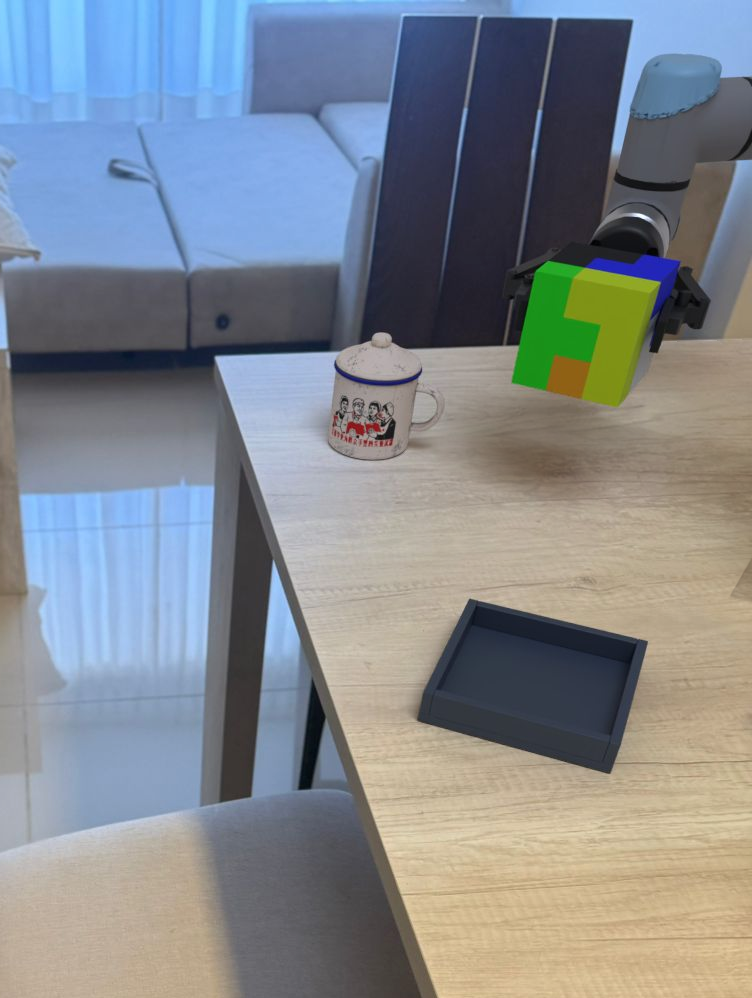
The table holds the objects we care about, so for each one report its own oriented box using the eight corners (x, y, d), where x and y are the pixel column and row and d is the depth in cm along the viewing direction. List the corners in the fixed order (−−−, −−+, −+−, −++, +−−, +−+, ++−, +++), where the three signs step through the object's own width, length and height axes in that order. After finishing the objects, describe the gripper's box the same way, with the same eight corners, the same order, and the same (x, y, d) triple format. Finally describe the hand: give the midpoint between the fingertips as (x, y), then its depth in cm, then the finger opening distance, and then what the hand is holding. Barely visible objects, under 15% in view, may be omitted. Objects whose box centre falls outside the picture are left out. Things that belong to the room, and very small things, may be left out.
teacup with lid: (315, 453, 124) (327, 344, 116) (338, 419, 130) (350, 314, 122) (425, 473, 120) (445, 362, 112) (443, 438, 127) (464, 330, 119)
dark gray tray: (638, 669, 95) (648, 640, 93) (610, 774, 85) (620, 744, 83) (463, 625, 99) (469, 598, 97) (417, 720, 89) (422, 691, 88)
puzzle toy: (648, 371, 110) (680, 261, 104) (617, 407, 104) (650, 293, 97) (546, 349, 114) (571, 241, 108) (511, 382, 108) (535, 271, 101)
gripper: (734, 310, 116) (714, 391, 102) (501, 276, 124) (451, 346, 109) (761, 231, 111) (744, 303, 97) (516, 200, 118) (466, 263, 104)
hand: (588, 326), depth 103 cm, fingers closed on puzzle toy, 11 cm apart
